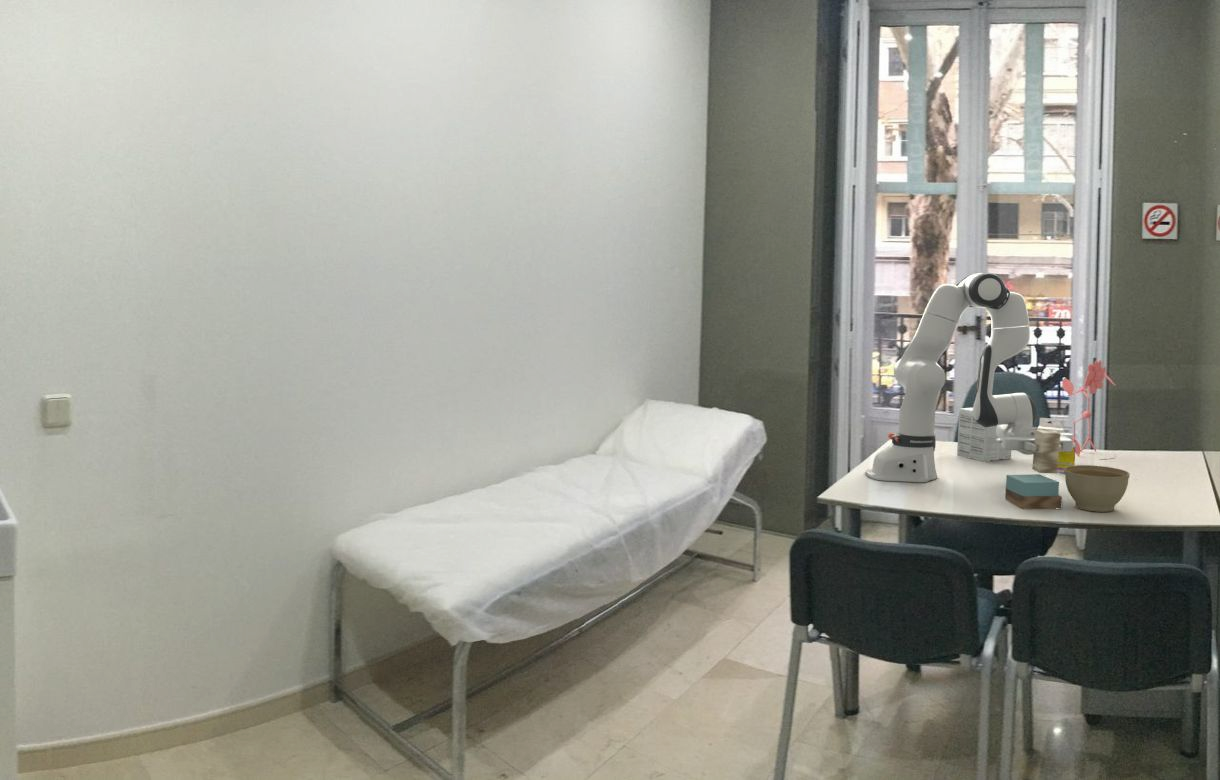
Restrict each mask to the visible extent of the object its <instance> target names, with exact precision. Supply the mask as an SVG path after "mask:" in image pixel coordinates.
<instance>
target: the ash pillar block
mask: <svg viewBox="0 0 1220 780" xmlns="http://www.w3.org/2000/svg"><path fill="white" fill-rule="evenodd" d="M1059 443H1060V433H1058V432H1055V431H1053V430H1035V442H1034V444H1037V445H1039V451H1034V454H1032V455H1033V456H1032V457H1033V458H1032V464H1031V465H1032V466H1031V467H1032V468H1031V470H1033V471H1034V472H1037V473H1038V474H1057V473H1058V472H1057V465H1058V454H1059Z"/></svg>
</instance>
